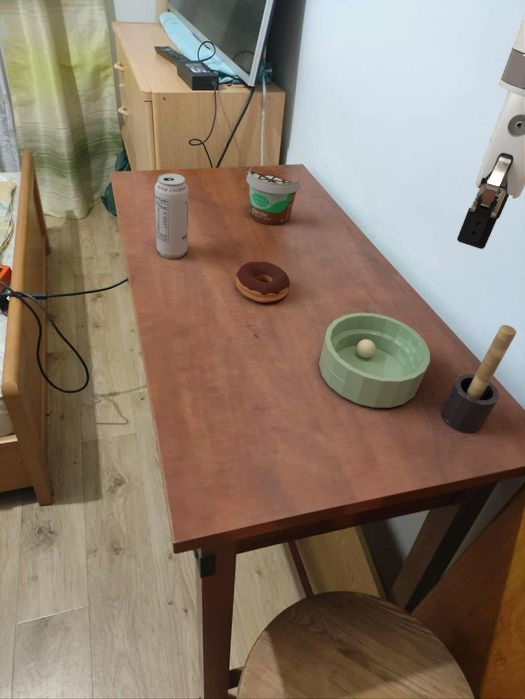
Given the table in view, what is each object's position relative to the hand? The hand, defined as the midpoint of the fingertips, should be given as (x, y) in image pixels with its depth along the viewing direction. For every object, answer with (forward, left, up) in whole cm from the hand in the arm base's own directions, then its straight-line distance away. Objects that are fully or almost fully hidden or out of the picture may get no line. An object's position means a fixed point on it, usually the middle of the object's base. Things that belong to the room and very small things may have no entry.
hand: (478, 229), depth 63 cm
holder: (-5, +7, -26) cm, 28 cm away
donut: (+22, -24, -26) cm, 42 cm away
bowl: (+7, -2, -26) cm, 27 cm away
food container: (+19, -52, -26) cm, 61 cm away
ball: (+7, -5, -24) cm, 26 cm away
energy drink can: (+39, -36, -26) cm, 59 cm away
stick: (-5, +7, -26) cm, 27 cm away
